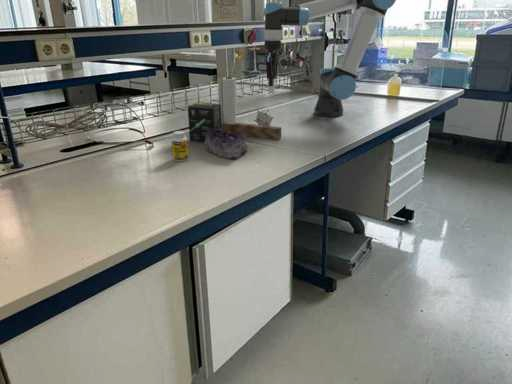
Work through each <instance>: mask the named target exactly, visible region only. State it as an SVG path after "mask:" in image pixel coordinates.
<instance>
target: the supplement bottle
mask: <svg viewBox="0 0 512 384" xmlns="http://www.w3.org/2000/svg"><path fill="white" fill-rule="evenodd" d="M188 145H189V144H188V138H187V136H186V133H185V131H183V130H176V131H173V132H172V138H171V151H172V159H173V161H175V162H180V163H182V162H186V161H188V159H189V148H188V147H189V146H188Z"/></svg>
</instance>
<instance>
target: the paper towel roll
mask: <svg viewBox="0 0 512 384" xmlns="http://www.w3.org/2000/svg"><path fill="white" fill-rule="evenodd" d="M217 81H218V82H217V85H218V86H217V88H218V104H221V122H222V123H223V122H233V123H237V89H236V88H237V84H236V83H237V81H236V77H229V76H228V77H227V76H226V77H218V78H217Z"/></svg>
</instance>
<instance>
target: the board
mask: <svg viewBox="0 0 512 384" xmlns="http://www.w3.org/2000/svg"><path fill="white" fill-rule="evenodd" d="M222 131H223V132H230V133H233V134H234V133H235V134H237V135H244V136H245V137H246V138H250V137H252V138H251V139H259V138H260V139H259V140H261V139H262V140H268V139H269V140H270V141H278V142H279V141H280V140H282V127H281V126H273V125H270V126H264V125H258V124H252V123H243V122H241V123H240V122H236V123H233V122H223V123H222ZM269 140H268V141H269Z"/></svg>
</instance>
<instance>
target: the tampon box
mask: <svg viewBox="0 0 512 384" xmlns="http://www.w3.org/2000/svg"><path fill="white" fill-rule="evenodd" d="M187 116H188V119H187V120H188V134H189V141H190V142H195V143H204V144H205V140H206V136H205V135H206V130H209V128H213V129H214V128H215V126H217V127H218V128H219V129H222V122H221V104H219V103H207V102H196V103H194V104H191V105H190V106H188V107H187Z"/></svg>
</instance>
